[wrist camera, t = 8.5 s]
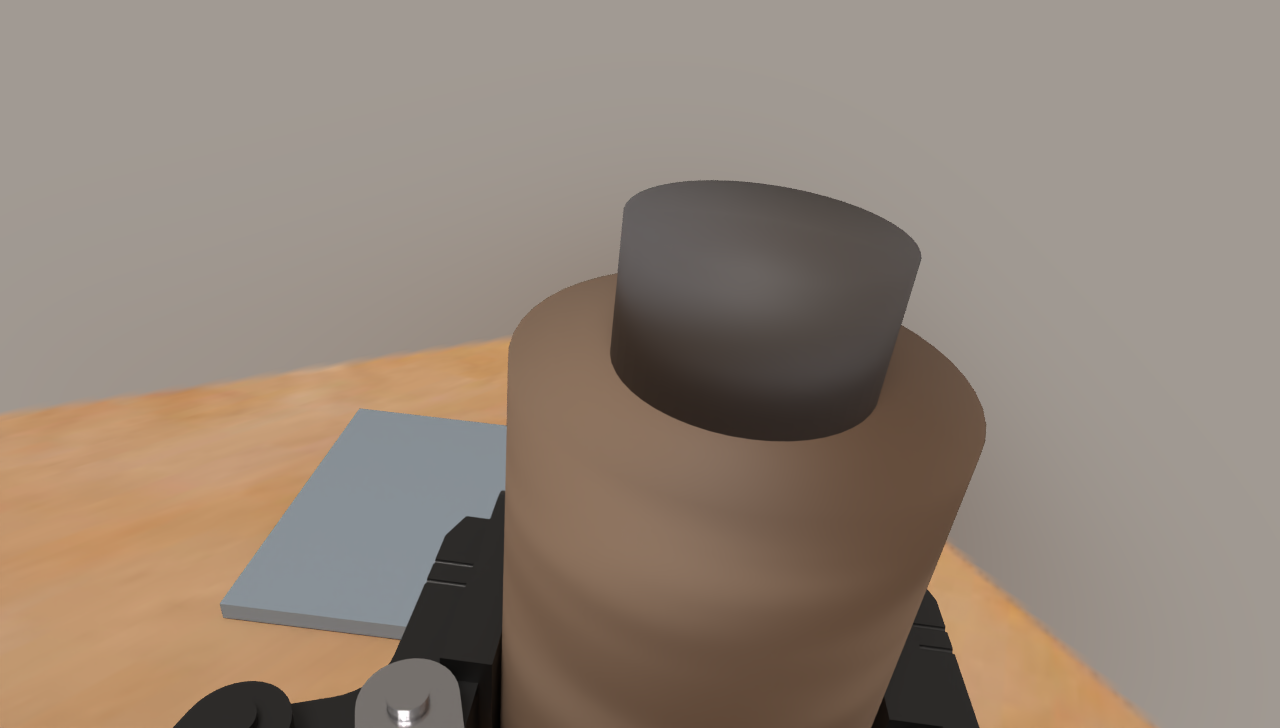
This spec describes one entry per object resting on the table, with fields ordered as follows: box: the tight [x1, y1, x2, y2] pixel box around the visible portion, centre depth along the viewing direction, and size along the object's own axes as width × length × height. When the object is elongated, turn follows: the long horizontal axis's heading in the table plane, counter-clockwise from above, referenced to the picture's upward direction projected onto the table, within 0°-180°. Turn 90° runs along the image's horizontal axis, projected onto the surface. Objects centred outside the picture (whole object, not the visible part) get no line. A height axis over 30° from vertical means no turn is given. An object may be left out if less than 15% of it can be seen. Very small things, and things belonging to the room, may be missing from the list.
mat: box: [220, 409, 507, 639], centre depth 28 cm, size 11×11×1 cm
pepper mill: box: [500, 180, 986, 728], centre depth 11 cm, size 5×5×14 cm
